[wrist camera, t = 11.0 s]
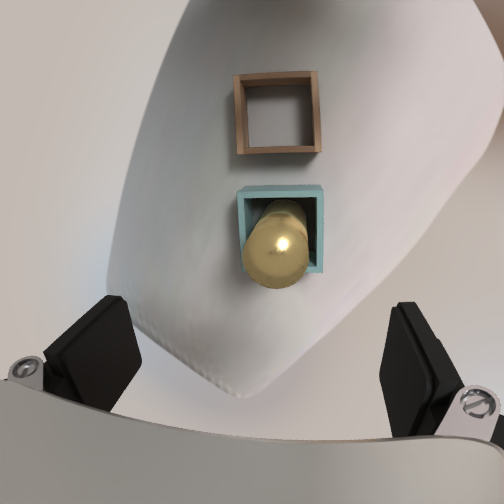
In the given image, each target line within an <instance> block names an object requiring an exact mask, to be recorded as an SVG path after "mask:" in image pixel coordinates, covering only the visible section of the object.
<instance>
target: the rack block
mask: <svg viewBox="0 0 504 504" xmlns="http://www.w3.org/2000/svg"><path fill="white" fill-rule="evenodd" d="M275 197H315V251H308V252H309V263H308V267H307V270H306V272H305V273H323V232H324V195H323V189H322V187H321V185H269V186H245V187H244V188H242V189H241V190H239V191H238V192H237V204H238V220H239V236H240V252H241V267H242V272H247V271H246V270H245V267H244V264H243V258H242V254H243V249H244V245H245V243H246V241H247V240H248V238H249V236H250V235H251V233H252V231H253V212H252V198H275Z"/></svg>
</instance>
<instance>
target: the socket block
mask: <svg viewBox="0 0 504 504" xmlns="http://www.w3.org/2000/svg"><path fill="white" fill-rule="evenodd" d="M233 85H234V104H235V123H236V142H237V155H238V154H258V153H287V152H322V147H321V124H320V105H319V90H318V76H317V71H294V72H270V73H255V74H243V75H233ZM278 85H310V91H311V106H312V125H313V146H276V147H252V148H249V135H248V117H247V98H246V87H260V86H278Z"/></svg>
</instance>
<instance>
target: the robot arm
mask: <svg viewBox="0 0 504 504" xmlns="http://www.w3.org/2000/svg"><path fill="white" fill-rule="evenodd" d="M43 353H44V355H45V357H46V360H47V361H46V362H45V363H43V360H42V359H41V358H39V357H37V356H27V357H24V358H21V359H19V360H18V361H16V362H15V363H14V364H13V365H12V366H11V367H10V369H9V373H8V379H4V380H0V504H504V416H503V415H500V414H499V413H500V407H501V404H500V400H499V399H498V397H497V395H496V394H495V393H494V392H492V391H491V390H490V389H488V388H486V387H482V386H478V385H470V386H467V387H465V386H464V384H463V382H462V380H461V378H460V376H459V374H458V372H457V371H456V369H455V367H454V365H453V363H452V361H451V359H450V358H449V356H448V354H447V352H446V350H445V349H444V347H443V345H442V343H441V342H440V340H439V339H437V338H436V336H435V335H434V333H433V331H432V330H431V328H430V326H429V324H428V323H427V321H426V319H425V318H424V316H423V314H422V313H421V311H420V309H419V308H418V306H417V304H416V303H415V302H399V303H398V304H397V307H392V310H391V315H390V321H389V327H388V332H387V338H386V343H385V348H384V353H383V357H382V362H381V367H380V372H379V377H380V383H381V387H382V391H383V395H384V400H385V404H386V408H387V413H388V417H389V422H390V427H391V432H392V436H393V438H381V439H363V440H317V441H314V440H311V441H309V440H281V439H263V438H252V437H241V436H231V435H223V434H215V433H208V432H201V431H194V430H188V429H183V428H177V427H171V426H166V425H161V424H157V423H152V422H147V421H143V420H138V419H134V418H130V417H126V416H122V415H118V414H115V413H111V412H110V411H111V410H112V408H113V407H114V405H115V404H116V402H117V401H118V399H119V398H120V396H121V395H122V393H123V391H124V390H125V389H126V387H127V386H128V385H129V383H130V382H131V380H132V379H133V377H134V376H135V374H136V373H137V371H138V370H139V368H140V367H141V364H142V358H141V354H140V351H139V347H138V344H137V340H136V336H135V333H134V329H133V325H132V321H131V317H130V313H129V309H128V305H127V302H126V301H125V300H123V298H122V297H121V296H113V295H107V296H105V297H104V298H103V299H101V300H100V301H99V302H98V303H97V304H96V305H95V306H93V307H92V308H91V309H90V310H89V311H88V312H87V313H85V314H84V315H83V316H82V317H81V318H80V319H79V320H78V321H76V322H75V323H74V324H73V325H72V326H71V327H70V328H69V329H68V330H66V331H65V332H64V333H63V334H62V335H61V336H60V337H59V338H58V339H56V340H55V341H54V342H53V343H52V344H51V345H50V346H49V347H48V348H47V349H46V350H45V351H44V352H43Z"/></svg>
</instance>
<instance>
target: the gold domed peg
mask: <svg viewBox="0 0 504 504" xmlns="http://www.w3.org/2000/svg"><path fill="white" fill-rule="evenodd" d="M242 258H243V264H244V267H245V270H246V271H247V273H248V275H249V276H250V277H251V278H252V279H253V280H254V281H255V282H257V283H258V284H260V285H262V286H264V287H267V288H273V289H280V288H285V287H289V286H291V285H293V284H295V283H296V282H297V281H299V280H300V279H301V278H302V276H303V275H304V274H305V272H306V270H307V267H308V263H309V252H308V237H307V223H306V215H305V213H304V211H303V209H302V208H301V207H300V206H299V205H298V204H297V203H295V202H293V201H291V200H286V199H282V200H277V201H274V202H272V203H271V204H270V205H269V206H268V207H267V208H266V209H265V211H264V212H263V214H262V216H261V218H260V219H259V221H258V223H257V224H256V226H255V228H254V229H253V231H252V233H251V235H250V236H249V238H248V240H247V241H246V243H245V245H244V249H243V254H242Z"/></svg>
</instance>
